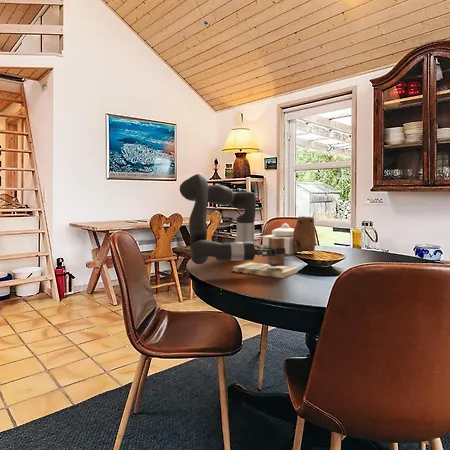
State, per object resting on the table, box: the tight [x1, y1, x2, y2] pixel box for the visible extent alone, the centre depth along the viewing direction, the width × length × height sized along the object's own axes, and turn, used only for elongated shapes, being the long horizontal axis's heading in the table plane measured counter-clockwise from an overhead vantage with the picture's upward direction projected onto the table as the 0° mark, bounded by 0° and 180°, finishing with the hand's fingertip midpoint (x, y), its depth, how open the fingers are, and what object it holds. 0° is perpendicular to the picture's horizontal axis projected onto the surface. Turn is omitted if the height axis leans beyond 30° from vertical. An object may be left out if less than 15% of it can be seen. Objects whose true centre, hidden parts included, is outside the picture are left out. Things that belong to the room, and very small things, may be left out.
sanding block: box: [267, 237, 285, 266], centre depth 154 cm, size 5×5×11 cm
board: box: [232, 261, 299, 279], centre depth 158 cm, size 23×13×2 cm, turn 55°
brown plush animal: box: [293, 216, 316, 254], centre depth 204 cm, size 11×8×20 cm
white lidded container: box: [261, 223, 295, 255], centre depth 216 cm, size 18×18×16 cm
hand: (282, 250), depth 155 cm, fingers closed on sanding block, 5 cm apart
